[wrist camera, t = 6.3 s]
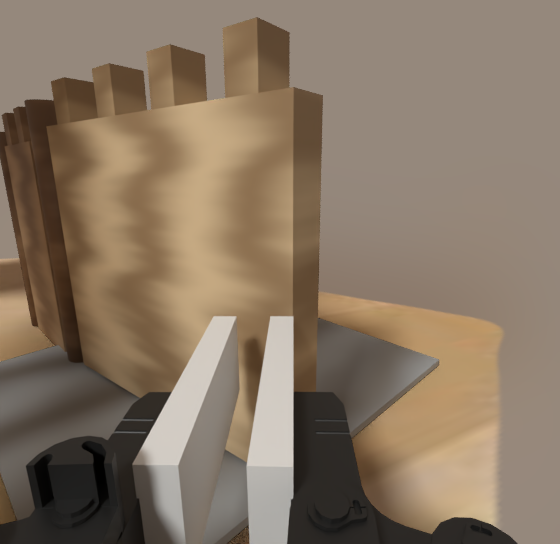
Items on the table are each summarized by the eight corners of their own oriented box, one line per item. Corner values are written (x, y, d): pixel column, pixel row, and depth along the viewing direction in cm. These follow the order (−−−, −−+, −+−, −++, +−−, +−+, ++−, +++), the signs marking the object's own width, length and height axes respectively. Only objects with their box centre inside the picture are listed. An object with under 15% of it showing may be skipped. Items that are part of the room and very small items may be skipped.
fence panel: (83, 364, 24) (39, 85, 19) (108, 354, 25) (71, 89, 21) (291, 489, 14) (293, 5, 10) (314, 464, 16) (324, 23, 11)
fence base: (-48, 339, 29) (-106, 112, 24) (200, 280, 43) (191, 132, 39) (71, 673, 10) (-98, -93, 5) (438, 365, 25) (470, 97, 20)
